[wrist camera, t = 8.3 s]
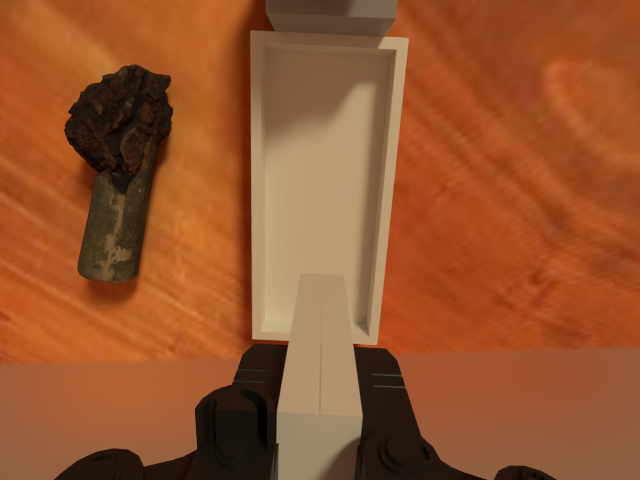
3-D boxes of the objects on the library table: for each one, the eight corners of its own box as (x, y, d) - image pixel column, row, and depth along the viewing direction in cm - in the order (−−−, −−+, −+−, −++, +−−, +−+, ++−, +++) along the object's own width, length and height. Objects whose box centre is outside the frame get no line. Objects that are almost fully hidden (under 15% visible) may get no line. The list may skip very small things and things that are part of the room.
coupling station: (258, 320, 38) (232, 396, 27) (258, -60, 28) (218, -178, 18) (372, 325, 38) (391, 403, 27) (409, -53, 28) (461, -165, 18)
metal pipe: (145, 271, 35) (115, 295, 30) (74, 250, 35) (30, 270, 29) (189, 84, 31) (163, 72, 26) (108, 56, 31) (64, 37, 25)
